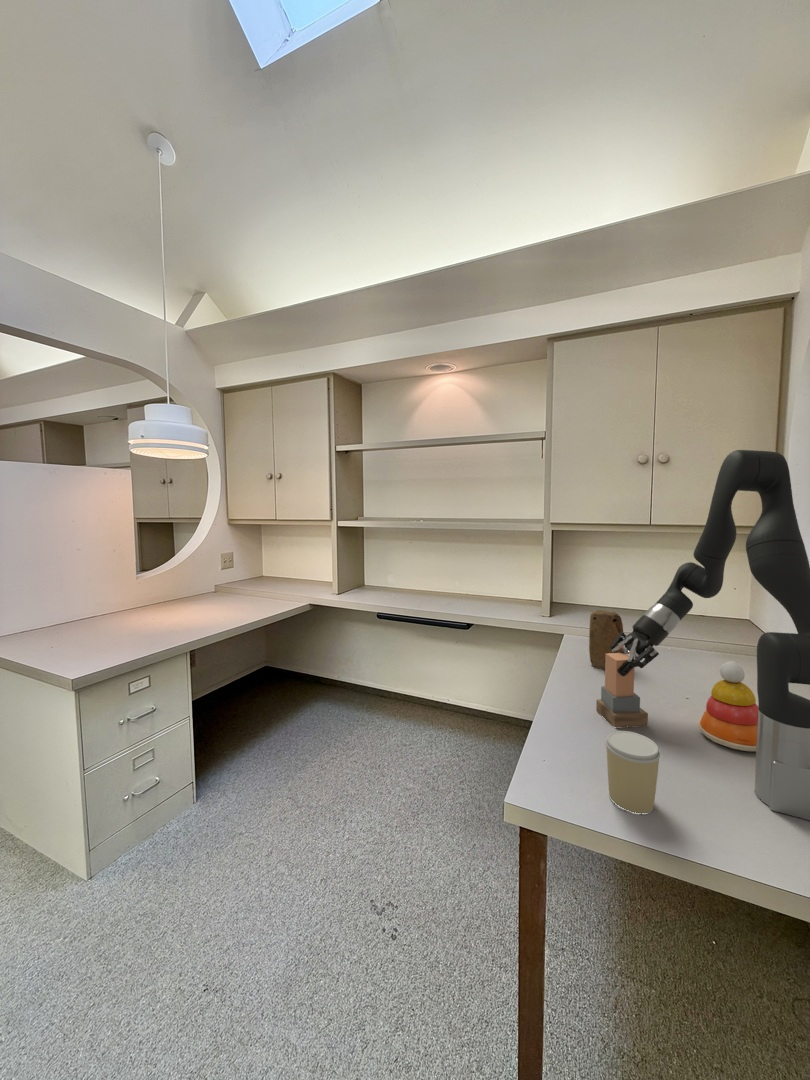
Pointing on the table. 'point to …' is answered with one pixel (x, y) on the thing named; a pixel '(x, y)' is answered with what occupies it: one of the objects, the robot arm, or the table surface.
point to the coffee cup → (632, 770)
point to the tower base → (622, 716)
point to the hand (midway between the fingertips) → (613, 669)
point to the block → (603, 635)
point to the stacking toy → (731, 711)
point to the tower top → (620, 702)
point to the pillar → (618, 676)
